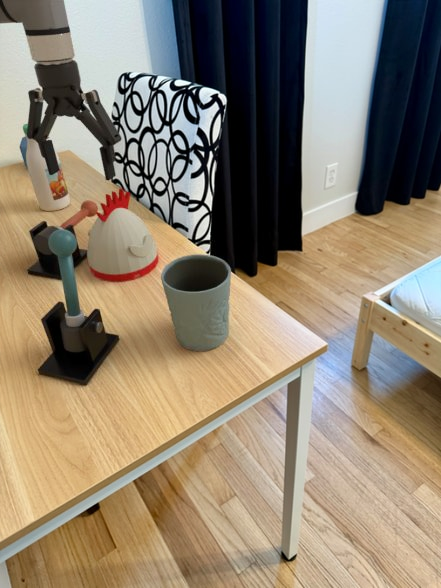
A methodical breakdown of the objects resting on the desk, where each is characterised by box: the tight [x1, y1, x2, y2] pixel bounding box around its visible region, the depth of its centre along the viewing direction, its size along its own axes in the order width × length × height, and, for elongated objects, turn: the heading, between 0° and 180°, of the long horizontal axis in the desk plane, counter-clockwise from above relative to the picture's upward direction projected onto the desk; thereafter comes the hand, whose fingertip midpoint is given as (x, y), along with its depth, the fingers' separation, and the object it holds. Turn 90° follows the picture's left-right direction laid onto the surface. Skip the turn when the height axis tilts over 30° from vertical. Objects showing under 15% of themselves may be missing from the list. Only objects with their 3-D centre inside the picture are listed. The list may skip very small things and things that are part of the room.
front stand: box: [37, 300, 120, 386], centre depth 64 cm, size 10×8×8 cm
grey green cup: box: [160, 253, 232, 352], centre depth 66 cm, size 10×10×12 cm
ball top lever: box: [48, 229, 88, 352], centre depth 61 cm, size 18×4×4 cm
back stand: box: [26, 220, 87, 281], centre depth 85 cm, size 10×8×8 cm
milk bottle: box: [22, 123, 71, 212], centre depth 105 cm, size 8×8×20 cm
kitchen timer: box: [86, 188, 159, 283], centre depth 83 cm, size 14×14×15 cm
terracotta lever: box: [32, 200, 99, 255], centre depth 89 cm, size 18×4×4 cm, turn 162°
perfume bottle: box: [19, 123, 28, 168], centre depth 131 cm, size 6×6×12 cm
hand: (82, 175), depth 90 cm, fingers open, 13 cm apart
